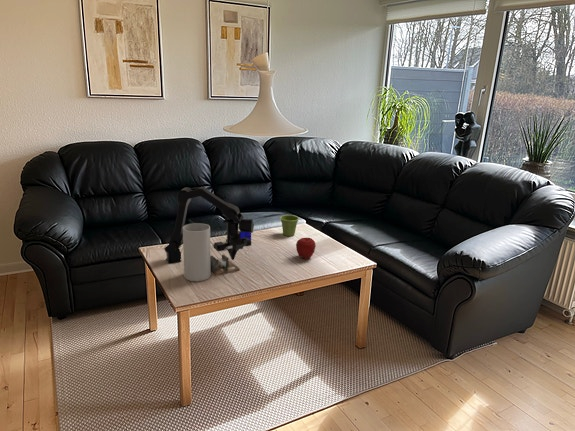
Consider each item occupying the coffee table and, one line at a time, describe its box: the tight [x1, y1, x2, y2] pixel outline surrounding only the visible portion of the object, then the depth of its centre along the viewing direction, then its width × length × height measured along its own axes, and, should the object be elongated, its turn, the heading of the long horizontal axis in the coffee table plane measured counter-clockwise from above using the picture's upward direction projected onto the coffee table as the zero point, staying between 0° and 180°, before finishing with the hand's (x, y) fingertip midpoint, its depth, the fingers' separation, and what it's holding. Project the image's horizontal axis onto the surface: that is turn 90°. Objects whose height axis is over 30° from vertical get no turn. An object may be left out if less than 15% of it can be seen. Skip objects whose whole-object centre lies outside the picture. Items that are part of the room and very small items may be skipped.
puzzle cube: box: [238, 224, 252, 241], centre depth 249 cm, size 10×10×10 cm
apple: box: [295, 237, 316, 260], centre depth 233 cm, size 11×11×12 cm
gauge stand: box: [210, 254, 240, 277], centre depth 214 cm, size 13×12×6 cm
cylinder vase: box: [182, 222, 212, 282], centre depth 202 cm, size 12×12×25 cm
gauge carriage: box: [216, 254, 230, 270], centre depth 213 cm, size 4×10×4 cm, turn 32°
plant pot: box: [279, 214, 300, 237], centre depth 268 cm, size 12×12×11 cm
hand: (232, 259), depth 218 cm, fingers closed
